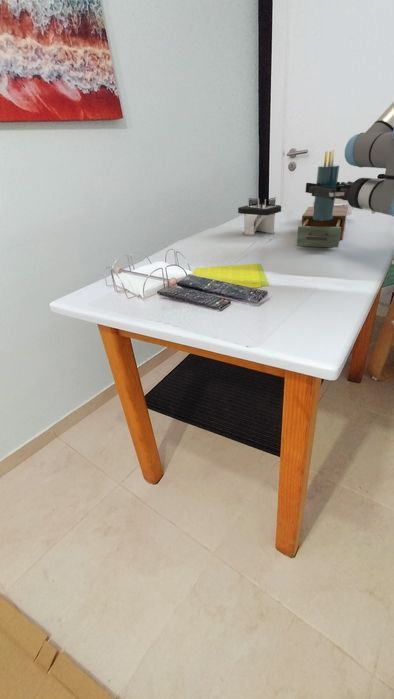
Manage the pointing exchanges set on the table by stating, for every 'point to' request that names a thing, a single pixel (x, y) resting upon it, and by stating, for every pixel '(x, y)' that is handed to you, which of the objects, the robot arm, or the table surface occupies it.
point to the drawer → (319, 233)
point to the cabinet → (337, 214)
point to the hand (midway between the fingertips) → (316, 186)
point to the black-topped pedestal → (259, 216)
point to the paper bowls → (342, 205)
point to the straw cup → (326, 178)
